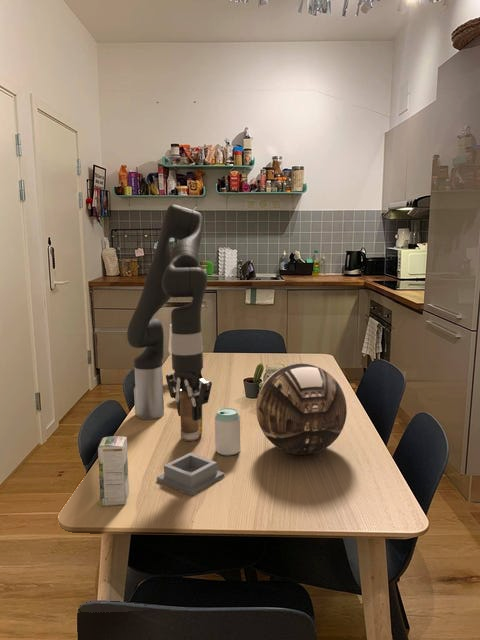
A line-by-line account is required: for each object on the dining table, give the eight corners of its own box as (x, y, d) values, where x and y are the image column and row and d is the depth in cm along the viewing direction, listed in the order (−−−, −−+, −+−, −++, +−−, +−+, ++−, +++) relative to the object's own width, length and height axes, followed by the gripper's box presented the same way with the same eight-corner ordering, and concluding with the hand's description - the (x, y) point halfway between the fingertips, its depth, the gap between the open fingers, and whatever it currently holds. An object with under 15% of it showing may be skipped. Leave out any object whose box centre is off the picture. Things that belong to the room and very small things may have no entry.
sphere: (327, 430, 157) (329, 352, 153) (360, 466, 133) (362, 374, 129) (249, 436, 153) (248, 356, 149) (267, 475, 129) (267, 380, 125)
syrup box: (104, 493, 121) (101, 436, 118) (129, 492, 121) (126, 435, 119) (100, 506, 115) (96, 446, 113) (126, 505, 116) (123, 445, 113)
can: (231, 459, 138) (231, 417, 136) (210, 453, 142) (209, 412, 140) (245, 449, 144) (244, 409, 142) (224, 444, 148) (223, 405, 146)
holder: (157, 480, 127) (156, 465, 126) (190, 463, 136) (190, 449, 135) (191, 495, 119) (190, 480, 119) (224, 476, 128) (224, 461, 128)
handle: (177, 438, 125) (175, 391, 123) (190, 432, 129) (188, 387, 127) (190, 442, 123) (188, 395, 120) (203, 436, 126) (201, 390, 124)
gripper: (219, 351, 120) (221, 419, 123) (177, 343, 129) (180, 407, 132) (197, 357, 115) (200, 428, 118) (155, 349, 124) (158, 415, 126)
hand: (189, 417), depth 125 cm, fingers closed on handle, 4 cm apart
